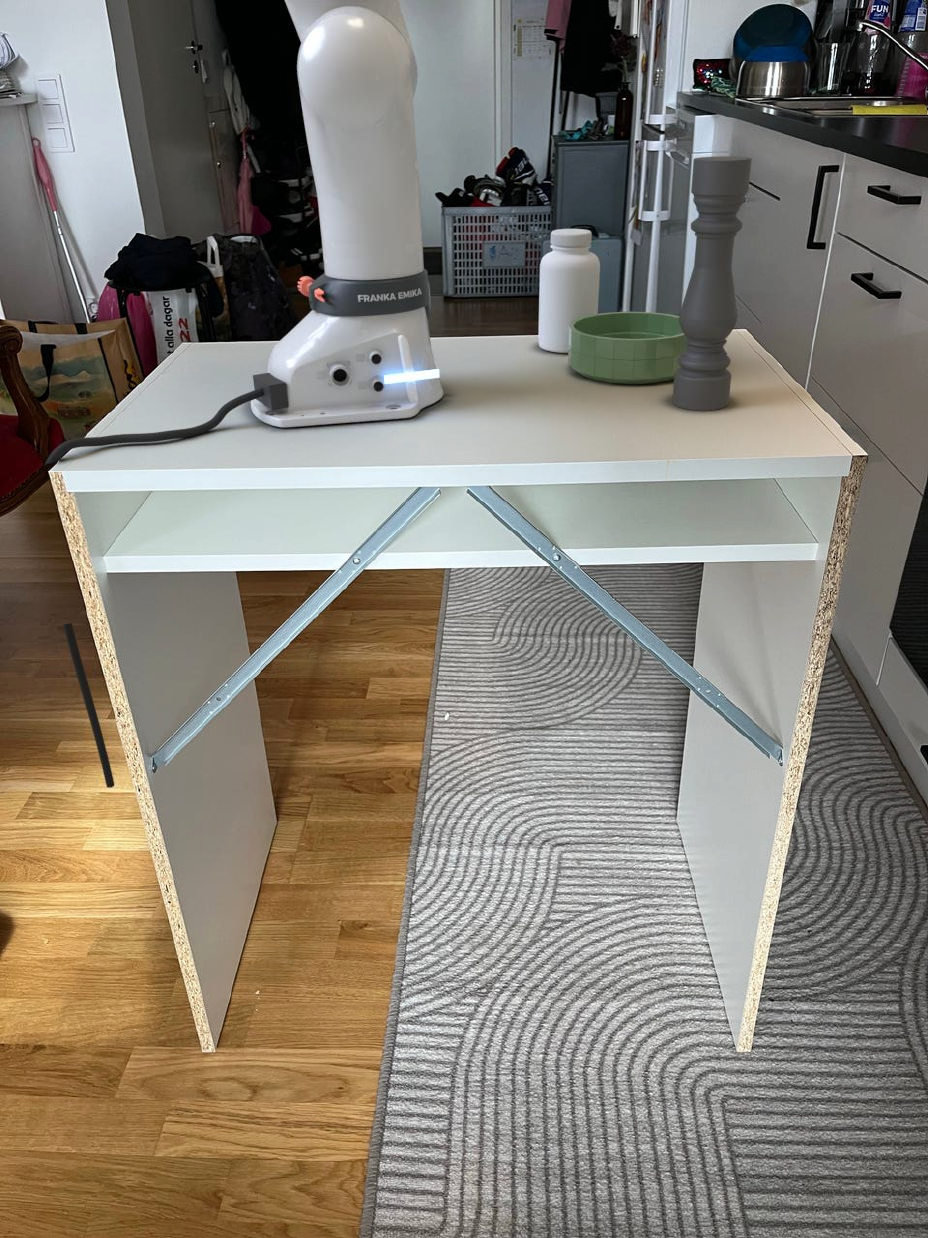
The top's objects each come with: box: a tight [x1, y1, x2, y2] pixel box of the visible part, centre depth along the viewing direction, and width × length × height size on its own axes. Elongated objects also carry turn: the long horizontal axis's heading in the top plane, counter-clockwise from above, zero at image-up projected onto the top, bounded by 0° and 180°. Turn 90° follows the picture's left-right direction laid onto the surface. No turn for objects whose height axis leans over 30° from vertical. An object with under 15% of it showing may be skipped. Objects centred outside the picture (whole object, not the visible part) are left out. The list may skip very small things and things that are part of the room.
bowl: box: [567, 311, 687, 385], centre depth 122 cm, size 16×16×6 cm
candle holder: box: [671, 155, 753, 412], centre depth 104 cm, size 6×6×25 cm
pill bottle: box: [538, 228, 601, 354], centre depth 131 cm, size 8×8×15 cm
